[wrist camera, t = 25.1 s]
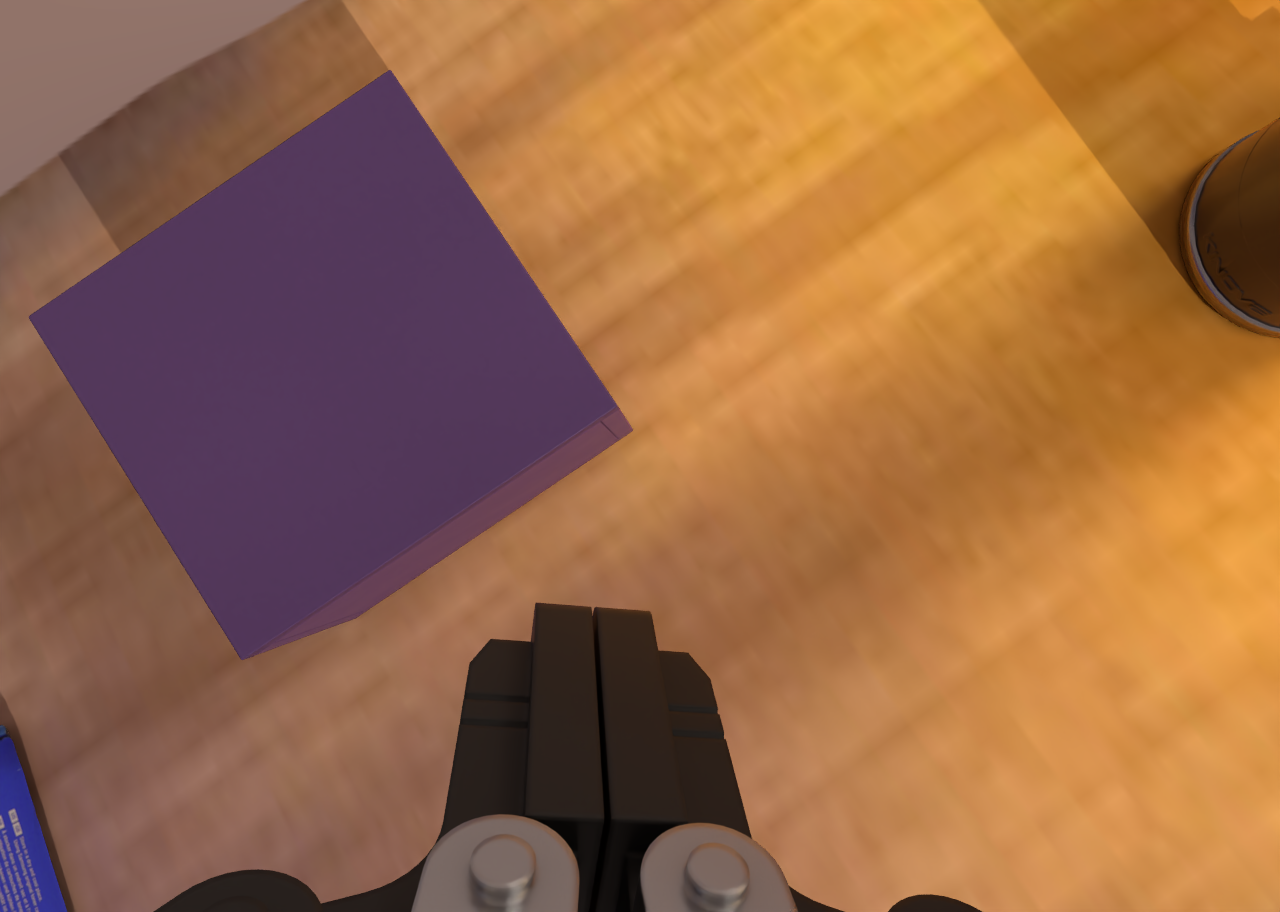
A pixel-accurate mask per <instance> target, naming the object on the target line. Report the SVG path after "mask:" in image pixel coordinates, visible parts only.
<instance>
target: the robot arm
mask: <svg viewBox="0 0 1280 912" xmlns="http://www.w3.org/2000/svg"><path fill="white" fill-rule="evenodd" d="M1179 237H1180V247H1181V252H1182V257H1183V260H1184V264H1185V267H1186V269H1187V272H1188V274H1189V276H1190V278H1191V280H1192V282H1193V284H1194V285H1195V287H1196V288H1197V290H1198V291H1199V293H1200V294H1201V295H1202V297H1203V298H1204V299H1205V300H1206V301H1207V302H1208V303H1209V304H1210V305H1211V306H1212V307H1213V308H1214V309H1215V310H1216V311H1217V312H1218V313H1220V314H1221V315H1222V316H1223V317H1225V318H1226V319H1228V320H1229V321H1231V322H1233V323H1234V324H1236V325H1238V326H1240V327H1242V328H1244V329H1247V330H1249V331H1252V332H1255V333H1258V334H1262V335H1266V336H1270V337H1278V338H1280V118H1278V119H1277V120H1275V121H1273V122H1272V123H1270V124H1269V125H1267V126H1266V127H1264V128H1262V129H1261V130H1259V131H1256V132H1254V133H1252V134H1250V135H1248V136H1246V137H1244V138H1242V139H1241V140H1239V141H1237V142H1236V143H1234V144H1233V145H1231V146H1230V147H1228V148H1227V149H1225V150H1223V151H1222V152H1221V153H1219V154H1218V155H1217V156H1215V157H1214V158H1213V159H1212V160H1211V161H1210V162H1209V163H1208V164H1207V165H1206V166H1205V167H1204V168H1203V169H1202V171H1201V172H1200V173H1199V175H1198V176H1197V177H1196V179H1195V180H1194V182H1193V184H1192V186H1191V187H1190V189H1189V192H1188V194H1187V196H1186V199H1185V202H1184V205H1183V208H1182V213H1181V219H1180V234H1179ZM717 711H718V707H717V703H716V700H715V696H714V692H713V688H712V684H711V680H710V678H709V677H708V676H707V675H706V673H705V672H704V671H703V670H702V669H701V668H700V666H699V665H698V664H697V663H696V662H695V661H694V659H693V658H692V657H691V656H690V655H689V653H685V652H671V651H658V647H657V642H656V636H655V631H654V625H653V619H652V615H651V612H650V611H639V610H626V609H613V608H601V607H595V608H594V611H593V616H592V609H591V607H585V606H572V605H559V604H546V603H536V604H535V611H534V619H533V627H532V636H531V642H526V641H512V640H498V639H490V640H489V642H488V643H487V644H486V645H485V646H484V647H483V648H482V650H481V651H480V652H479V653H478V654H477V655H476V657H475V658H474V659H473V660H472V661H471V662H470V664H469V670H468V676H467V682H466V688H465V695H464V700H463V706H462V712H461V719H460V725H459V730H458V737H457V743H456V749H455V755H454V761H453V767H452V773H451V779H450V785H449V791H448V797H447V803H446V809H445V815H444V821H443V825H442V829H441V832H440V835H439V837H438V839H437V841H436V843H435V845H434V846H433V848H432V849H431V850H430V852H429V853H428V855H427V856H426V857H425V858H424V859H423V860H422V861H421V862H420V863H419V864H418V865H417V866H416V867H414V868H413V869H412V870H411V871H409V872H408V873H407V874H405V875H403V876H402V877H400V878H399V879H397V880H395V881H394V882H391V883H389V884H387V885H385V886H383V887H380V888H377V889H374V890H371V891H368V892H365V893H361V894H357V895H353V896H349V897H346V898H342V899H338V900H334V901H330V902H326V903H322V904H321V903H320V902H319V900H318V898H317V896H316V895H315V894H314V892H313V891H312V890H311V889H310V888H309V887H308V886H307V885H305V884H304V883H302V882H301V881H299V880H298V879H296V878H294V877H291V876H289V875H287V874H284V873H280V872H275V871H270V870H242V871H237V872H231V873H226V874H223V875H220V876H217V877H213V878H210V879H208V880H206V881H203V882H201V883H199V884H197V885H195V886H193V887H191V888H189V889H188V890H186V891H184V892H183V893H181V894H179V895H178V896H176V897H175V898H173V899H172V900H170V901H169V902H167V903H166V904H164V905H163V906H161V907H160V908H158V909H157V910H155V911H154V912H844V911H841V910H838V909H835V908H832V907H829V906H826V905H823V904H821V903H818V902H816V901H813V900H811V899H810V898H808V897H806V896H804V895H802V894H800V893H799V892H797V891H796V890H794V889H793V888H791V887H790V886H788V883H787V881H786V878H785V876H784V874H783V872H782V870H781V868H780V867H779V865H778V864H777V862H776V861H775V859H774V858H773V857H772V856H771V855H770V854H769V853H768V852H767V851H766V850H765V849H764V848H763V847H762V846H761V845H759V844H758V843H757V842H756V841H754V840H753V839H752V837H751V834H750V830H749V826H748V822H747V819H746V815H745V811H744V807H743V803H742V799H741V796H740V792H739V788H738V784H737V780H736V776H735V773H734V769H733V765H732V761H731V757H730V753H729V749H728V746H727V742H726V739H724V730H723V726H722V723H721V719H720V715H719V714H718V713H717ZM888 912H982V911H980V910H978V909H976V908H974V907H973V906H971V905H968V904H966V903H964V902H961V901H959V900H956V899H952V898H948V897H945V896H938V895H916V896H911V897H908V898H905V899H903V900H901V901H899V902H898V903H896V904H895V905H894V906H892V908H891V909H890V910H889V911H888Z"/></svg>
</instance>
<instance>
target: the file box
mask: <svg viewBox="0 0 1280 912" xmlns="http://www.w3.org/2000/svg"><path fill="white" fill-rule="evenodd" d="M632 431H633V429H632V427H631V426H630V424H629V422H628V421H627V419H626V418H625V416H624V415H623V413H622V412H621V410H620V409H618V410H616V411H615V412H614V413H612V414H611V415H609V416H608V417H606V418H605V419H603V420H602V421H600V422H599V423H597V424H596V425H594V426H593V427H591V428H590V429H588V430H587V431H585V432H584V433H582V434H581V435H580V436H578V437H577V438H575V439H574V440H572V441H571V442H569V443H568V444H566V445H565V446H563V447H562V448H560V449H559V450H557V451H556V452H554V453H553V454H551V455H550V456H549V457H547V458H546V459H544V460H543V461H541V462H540V463H538V464H537V465H535V466H534V467H532V468H531V469H529V470H528V471H526V472H525V473H523V474H522V475H520V476H519V477H517V478H516V479H515V480H513V481H512V482H510V483H509V484H507V485H506V486H504V487H503V488H501V489H500V490H498V491H497V492H495V493H494V494H492V495H491V496H489V497H488V498H486V499H485V500H483V501H482V502H481V503H479V504H478V505H476V506H475V507H473V508H472V509H470V510H469V511H467V512H466V513H464V514H463V515H461V516H460V517H458V518H457V519H455V520H454V521H452V522H451V523H449V524H448V525H447V526H445V527H444V528H442V529H441V530H439V531H438V532H436V533H435V534H433V535H432V536H430V537H429V538H427V539H426V540H424V541H423V542H421V543H420V544H418V545H417V546H416V547H414V548H413V549H411V550H410V551H408V552H407V553H405V554H404V555H402V556H401V557H399V558H398V559H396V560H395V561H393V562H392V563H390V564H389V565H387V566H386V567H384V568H383V569H382V570H380V571H379V572H377V573H376V574H374V575H373V576H371V577H370V578H368V579H367V580H365V581H364V582H362V583H361V584H359V585H358V586H356V587H355V588H353V589H352V590H350V591H349V592H348V593H346V594H345V595H343V596H342V597H340V598H339V599H337V600H336V601H334V602H333V603H331V604H330V605H328V606H327V607H325V608H324V609H322V610H321V611H319V612H318V613H316V614H315V615H314V616H312V617H311V618H309V619H308V620H306V621H305V622H303V623H302V624H300V625H299V626H297V627H296V628H294V629H293V630H291V631H290V632H288V633H287V634H285V635H284V636H283V637H281V638H280V639H278V640H277V641H275V642H274V643H272V644H271V645H269V646H268V647H266V648H265V649H263V650H262V651H260V652H259V653H257V654H260V653H263V652H265V651H268V650H271V649H274V648H276V647H279V646H282V645H284V644H287V643H290V642H292V641H295V640H298V639H301V638H303V637H306V636H309V635H311V634H314V633H317V632H319V631H322V630H325V629H328V628H330V627H333V626H336V625H338V624H341V623H344V622H346V621H349V620H352V619H355V618H357V617H358V616H360V615H361V614H363V613H364V612H366V611H367V610H369V609H370V608H372V607H373V606H374V605H376V604H377V603H379V602H380V601H382V600H383V599H385V598H386V597H388V596H389V595H391V594H392V593H394V592H395V591H397V590H398V589H400V588H401V587H403V586H404V585H406V584H407V583H408V582H410V581H411V580H413V579H414V578H416V577H417V576H419V575H420V574H422V573H423V572H425V571H426V570H428V569H429V568H431V567H432V566H434V565H435V564H437V563H438V562H440V561H441V560H442V559H444V558H445V557H447V556H448V555H450V554H451V553H453V552H454V551H456V550H457V549H459V548H460V547H462V546H463V545H465V544H466V543H468V542H469V541H471V540H472V539H474V538H475V537H476V536H478V535H479V534H481V533H482V532H484V531H485V530H487V529H488V528H490V527H491V526H493V525H494V524H496V523H497V522H499V521H500V520H502V519H503V518H505V517H506V516H508V515H509V514H511V513H512V512H513V511H515V510H516V509H518V508H519V507H521V506H522V505H524V504H525V503H527V502H528V501H530V500H531V499H533V498H534V497H536V496H537V495H539V494H540V493H542V492H543V491H545V490H546V489H547V488H549V487H550V486H552V485H553V484H555V483H556V482H558V481H559V480H561V479H562V478H564V477H565V476H567V475H568V474H570V473H571V472H573V471H574V470H576V469H577V468H579V467H580V466H581V465H583V464H584V463H586V462H587V461H589V460H590V459H592V458H593V457H595V456H596V455H598V454H599V453H601V452H602V451H604V450H605V449H607V448H608V447H610V446H611V445H613V444H614V443H615V442H617V441H618V440H620V439H621V438H623V437H624V436H626V435H627V434H629V433H630V432H632ZM257 654H256V655H257Z"/></svg>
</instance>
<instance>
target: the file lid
mask: <svg viewBox="0 0 1280 912" xmlns="http://www.w3.org/2000/svg"><path fill="white" fill-rule="evenodd" d="M29 319H30V320H31V322H32V324H33V325H34V327H35V329H36V330H37V332H38V333H39V335H40V337H41V338H42V340H43V341H44V343H45V345H46V346H47V348H48V349H49V351H50V353H51V354H52V356H53V358H54V359H55V361H56V362H57V364H58V366H59V367H60V369H61V370H62V372H63V374H64V375H65V377H66V378H67V380H68V382H69V383H70V385H71V386H72V388H73V390H74V391H75V393H76V395H77V396H78V398H79V399H80V401H81V403H82V404H83V406H84V407H85V409H86V411H87V412H88V414H89V415H90V417H91V419H92V420H93V422H94V424H95V425H96V427H97V428H98V430H99V432H100V433H101V435H102V436H103V438H104V440H105V441H106V443H107V444H108V446H109V448H110V449H111V451H112V452H113V454H114V456H115V457H116V459H117V461H118V462H119V464H120V465H121V467H122V469H123V470H124V472H125V473H126V475H127V477H128V478H129V480H130V481H131V483H132V485H133V486H134V488H135V489H136V491H137V493H138V494H139V496H140V498H141V499H142V501H143V502H144V504H145V506H146V507H147V509H148V510H149V512H150V514H151V515H152V517H153V518H154V520H155V522H156V523H157V525H158V527H159V528H160V530H161V531H162V533H163V535H164V536H165V538H166V539H167V541H168V543H169V544H170V546H171V547H172V549H173V551H174V552H175V554H176V555H177V557H178V559H179V560H180V562H181V564H182V565H183V567H184V568H185V570H186V572H187V573H188V575H189V576H190V578H191V580H192V581H193V583H194V584H195V586H196V588H197V589H198V591H199V593H200V594H201V596H202V597H203V599H204V601H205V602H206V604H207V605H208V607H209V609H210V610H211V612H212V613H213V615H214V617H215V618H216V620H217V621H218V623H219V625H220V626H221V628H222V630H223V631H224V633H225V634H226V636H227V638H228V639H229V641H230V642H231V644H232V646H233V647H234V649H235V650H236V652H237V654H238V655H239V657H240V659H241V660H244V659H247V658H250V657H252V656H254V655H256V654H257V653H259V652H260V651H262V650H263V649H265V648H266V647H268V646H269V645H271V644H272V643H274V642H275V641H277V640H278V639H280V638H281V637H283V636H284V635H285V634H287V633H288V632H290V631H291V630H293V629H294V628H296V627H297V626H299V625H300V624H302V623H303V622H305V621H306V620H308V619H309V618H311V617H312V616H314V615H315V614H316V613H318V612H319V611H321V610H322V609H324V608H325V607H327V606H328V605H330V604H331V603H333V602H334V601H336V600H337V599H339V598H340V597H342V596H343V595H345V594H346V593H348V592H349V591H350V590H352V589H353V588H355V587H356V586H358V585H359V584H361V583H362V582H364V581H365V580H367V579H368V578H370V577H371V576H373V575H374V574H376V573H377V572H379V571H380V570H382V569H383V568H384V567H386V566H387V565H389V564H390V563H392V562H393V561H395V560H396V559H398V558H399V557H401V556H402V555H404V554H405V553H407V552H408V551H410V550H411V549H413V548H414V547H416V546H417V545H418V544H420V543H421V542H423V541H424V540H426V539H427V538H429V537H430V536H432V535H433V534H435V533H436V532H438V531H439V530H441V529H442V528H444V527H445V526H447V525H448V524H449V523H451V522H452V521H454V520H455V519H457V518H458V517H460V516H461V515H463V514H464V513H466V512H467V511H469V510H470V509H472V508H473V507H475V506H476V505H478V504H479V503H481V502H482V501H483V500H485V499H486V498H488V497H489V496H491V495H492V494H494V493H495V492H497V491H498V490H500V489H501V488H503V487H504V486H506V485H507V484H509V483H510V482H512V481H513V480H515V479H516V478H517V477H519V476H520V475H522V474H523V473H525V472H526V471H528V470H529V469H531V468H532V467H534V466H535V465H537V464H538V463H540V462H541V461H543V460H544V459H546V458H547V457H549V456H550V455H551V454H553V453H554V452H556V451H557V450H559V449H560V448H562V447H563V446H565V445H566V444H568V443H569V442H571V441H572V440H574V439H575V438H577V437H578V436H580V435H581V434H582V433H584V432H585V431H587V430H588V429H590V428H591V427H593V426H594V425H596V424H597V423H599V422H600V421H602V420H603V419H605V418H606V417H608V416H609V415H611V414H612V413H614V412H615V411H616V410H618V409H619V407H618V406H617V404H616V403H615V401H614V400H613V398H612V397H611V395H610V394H609V392H608V391H607V389H606V388H605V386H604V385H603V383H602V382H601V380H600V379H599V377H598V376H597V374H596V373H595V371H594V370H593V369H592V367H591V366H590V364H589V363H588V361H587V360H586V358H585V357H584V355H583V354H582V352H581V351H580V349H579V348H578V346H577V345H576V343H575V342H574V340H573V339H572V337H571V336H570V335H569V333H568V332H567V330H566V329H565V327H564V326H563V324H562V323H561V321H560V320H559V318H558V317H557V315H556V314H555V312H554V311H553V309H552V308H551V306H550V305H549V303H548V302H547V300H546V299H545V298H544V296H543V295H542V293H541V292H540V290H539V289H538V287H537V286H536V284H535V283H534V281H533V280H532V278H531V277H530V275H529V274H528V272H527V271H526V269H525V268H524V266H523V265H522V264H521V262H520V261H519V259H518V258H517V256H516V255H515V253H514V252H513V250H512V249H511V247H510V246H509V244H508V243H507V241H506V240H505V238H504V237H503V235H502V234H501V232H500V231H499V230H498V228H497V227H496V225H495V224H494V222H493V221H492V219H491V218H490V216H489V215H488V213H487V212H486V210H485V209H484V207H483V206H482V204H481V203H480V201H479V200H478V198H477V197H476V195H475V194H474V193H473V191H472V190H471V188H470V187H469V185H468V184H467V182H466V181H465V179H464V178H463V176H462V175H461V173H460V172H459V170H458V169H457V167H456V166H455V164H454V163H453V161H452V160H451V159H450V157H449V156H448V154H447V153H446V151H445V150H444V148H443V147H442V145H441V144H440V142H439V141H438V139H437V138H436V136H435V135H434V133H433V132H432V130H431V129H430V127H429V126H428V124H427V123H426V122H425V120H424V119H423V117H422V116H421V114H420V113H419V111H418V110H417V108H416V107H415V105H414V104H413V102H412V101H411V99H410V98H409V96H408V95H407V93H406V92H405V90H404V89H403V88H402V86H401V85H400V83H399V82H398V80H397V79H396V77H395V76H394V74H393V73H392V71H391V70H389V71H387V72H386V73H384V74H383V75H381V76H380V77H378V78H377V79H375V80H374V81H372V82H371V83H369V84H368V85H367V86H365V87H364V88H362V89H361V90H359V91H358V92H356V93H355V94H353V95H352V96H350V97H349V98H348V99H346V100H345V101H343V102H342V103H340V104H339V105H337V106H336V107H334V108H333V109H331V110H330V111H329V112H327V113H326V114H324V115H323V116H321V117H320V118H318V119H317V120H315V121H314V122H312V123H311V124H309V125H308V126H307V127H305V128H304V129H302V130H301V131H299V132H298V133H296V134H295V135H293V136H292V137H290V138H289V139H288V140H286V141H285V142H283V143H282V144H280V145H279V146H277V147H276V148H274V149H273V150H271V151H270V152H268V153H267V154H266V155H264V156H263V157H261V158H260V159H258V160H257V161H255V162H254V163H252V164H251V165H249V166H248V167H247V168H245V169H244V170H242V171H241V172H239V173H238V174H236V175H235V176H233V177H232V178H230V179H229V180H228V181H226V182H225V183H223V184H222V185H220V186H219V187H217V188H216V189H214V190H213V191H211V192H210V193H208V194H207V195H206V196H204V197H203V198H201V199H200V200H198V201H197V202H195V203H194V204H192V205H191V206H189V207H188V208H187V209H185V210H184V211H182V212H181V213H179V214H178V215H176V216H175V217H173V218H172V219H170V220H169V221H168V222H166V223H165V224H163V225H162V226H160V227H159V228H157V229H156V230H154V231H153V232H151V233H150V234H148V235H147V236H146V237H144V238H143V239H141V240H140V241H138V242H137V243H135V244H134V245H132V246H131V247H129V248H128V249H127V250H125V251H124V252H122V253H121V254H119V255H118V256H116V257H115V258H113V259H112V260H110V261H109V262H107V263H106V264H105V265H103V266H102V267H100V268H99V269H97V270H96V271H94V272H93V273H91V274H90V275H88V276H87V277H86V278H84V279H83V280H81V281H80V282H78V283H77V284H75V285H74V286H72V287H71V288H69V289H68V290H67V291H65V292H64V293H62V294H61V295H59V296H58V297H56V298H55V299H53V300H52V301H50V302H49V303H47V304H46V305H45V306H43V307H42V308H40V309H39V310H37V311H36V312H34V313H33V314H31V315H30V316H29Z"/></svg>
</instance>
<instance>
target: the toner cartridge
mask: <svg viewBox="0 0 1280 912" xmlns="http://www.w3.org/2000/svg"><path fill="white" fill-rule="evenodd" d="M0 912H67V909H66V906H65V903H64V900H63V897H62V894H61V891H60V888H59V884H58V881H57V878H56V875H55V872H54V869H53V866H52V863H51V859H50V856H49V853H48V850H47V846H46V843H45V840H44V837H43V833H42V830H41V827H40V824H39V821H38V819H37V816H36V812H35V808H34V805H33V802H32V799H31V796H30V793H29V789H28V786H27V783H26V779H25V776H24V773H23V770H22V767H21V764H20V761H19V759H18V756H17V753H16V750H15V746H14V743H13V741H12V739H11V738H10V735H9V733H8V731H7V729H6V727H5V726H3V725H0Z"/></svg>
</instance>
